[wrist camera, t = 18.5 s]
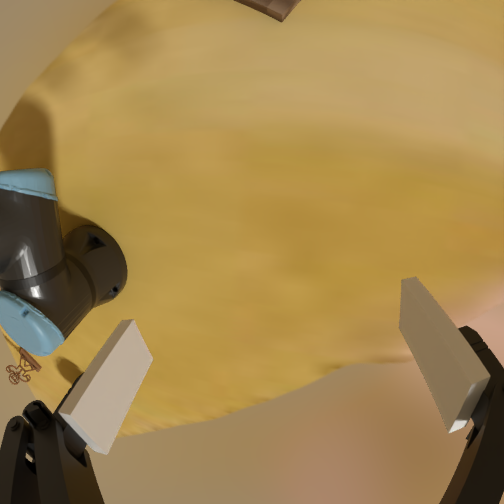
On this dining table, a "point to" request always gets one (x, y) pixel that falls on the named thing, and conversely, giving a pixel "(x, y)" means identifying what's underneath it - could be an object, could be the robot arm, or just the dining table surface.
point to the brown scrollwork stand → (30, 360)
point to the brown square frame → (272, 7)
